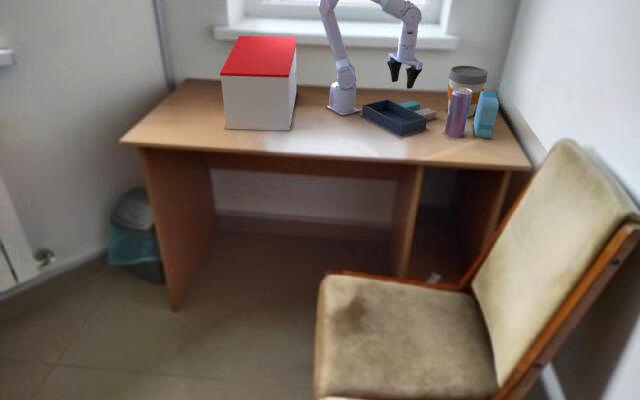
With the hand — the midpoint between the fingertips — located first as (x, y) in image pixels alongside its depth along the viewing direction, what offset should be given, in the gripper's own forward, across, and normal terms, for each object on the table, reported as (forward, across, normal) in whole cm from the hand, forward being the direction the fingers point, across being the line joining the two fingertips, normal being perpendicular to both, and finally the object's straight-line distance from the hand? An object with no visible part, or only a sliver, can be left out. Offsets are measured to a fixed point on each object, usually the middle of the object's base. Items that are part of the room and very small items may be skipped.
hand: (402, 84), depth 152 cm
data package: (+10, -27, -12) cm, 31 cm away
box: (+10, -6, +8) cm, 15 cm away
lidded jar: (+10, -12, -19) cm, 25 cm away
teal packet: (+10, -2, -3) cm, 10 cm away
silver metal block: (+10, -10, -3) cm, 14 cm away
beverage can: (+10, -24, -2) cm, 26 cm away
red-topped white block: (+10, +27, +40) cm, 49 cm away
